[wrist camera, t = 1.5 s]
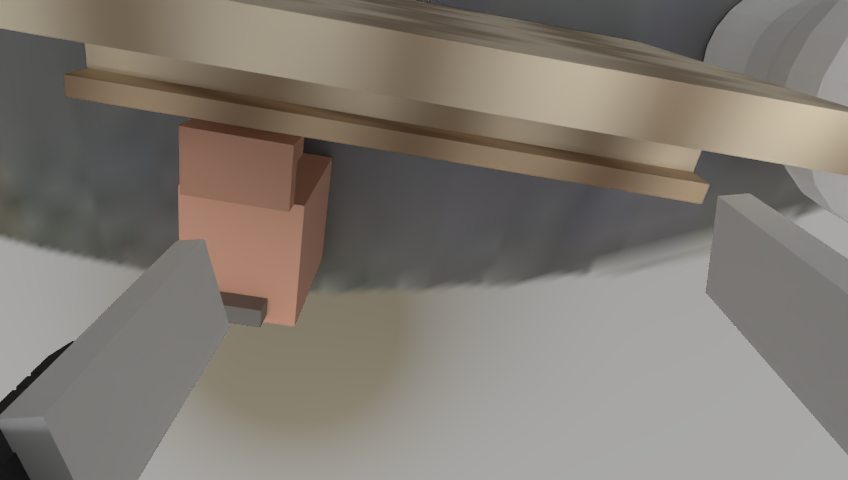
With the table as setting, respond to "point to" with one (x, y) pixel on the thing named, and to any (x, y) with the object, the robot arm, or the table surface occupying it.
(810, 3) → the cup
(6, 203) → the table surface
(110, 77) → the wallboard
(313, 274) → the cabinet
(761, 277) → the robot arm
